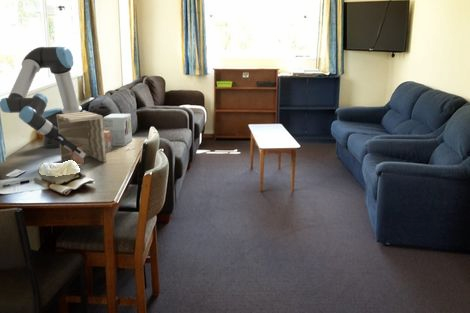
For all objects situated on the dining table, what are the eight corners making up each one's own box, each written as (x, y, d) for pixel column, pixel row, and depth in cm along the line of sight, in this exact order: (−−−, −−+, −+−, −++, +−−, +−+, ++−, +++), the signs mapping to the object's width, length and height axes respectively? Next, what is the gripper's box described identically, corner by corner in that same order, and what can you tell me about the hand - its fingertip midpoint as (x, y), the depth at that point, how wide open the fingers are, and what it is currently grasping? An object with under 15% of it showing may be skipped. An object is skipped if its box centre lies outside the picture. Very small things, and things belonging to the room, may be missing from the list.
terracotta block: (71, 163, 250) (69, 145, 248) (80, 162, 253) (78, 144, 251) (74, 165, 246) (72, 147, 244) (83, 164, 249) (82, 145, 247)
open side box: (61, 160, 258) (56, 114, 251) (91, 155, 268) (87, 111, 262) (75, 167, 242) (70, 119, 236) (106, 162, 252) (102, 115, 246)
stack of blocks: (73, 152, 275) (71, 132, 272) (77, 150, 281) (75, 130, 278) (108, 152, 275) (107, 132, 271) (111, 150, 281) (110, 130, 278)
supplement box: (125, 146, 290) (123, 117, 286) (104, 146, 291) (102, 117, 286) (133, 140, 307) (131, 113, 302) (113, 140, 308) (111, 113, 303)
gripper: (35, 132, 245) (66, 155, 258) (51, 139, 226) (83, 163, 239) (44, 121, 247) (75, 144, 259) (61, 127, 228) (93, 152, 241)
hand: (79, 153), depth 249 cm, fingers open, 13 cm apart
